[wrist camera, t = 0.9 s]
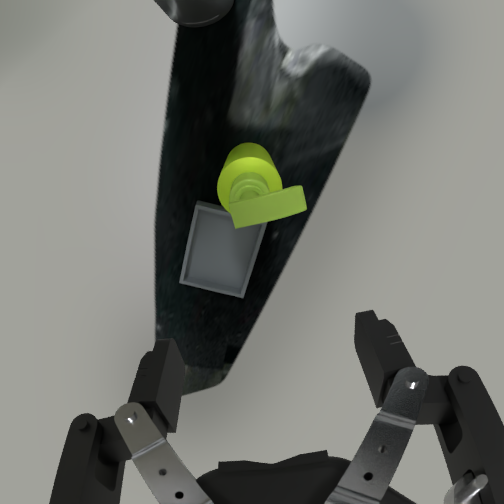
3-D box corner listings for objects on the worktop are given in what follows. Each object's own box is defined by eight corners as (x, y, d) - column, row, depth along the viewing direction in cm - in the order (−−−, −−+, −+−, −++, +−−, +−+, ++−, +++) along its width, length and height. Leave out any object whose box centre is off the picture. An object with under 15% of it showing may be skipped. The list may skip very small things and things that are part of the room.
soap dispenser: (283, 178, 42) (313, 237, 23) (232, 191, 42) (222, 259, 24) (273, 135, 39) (297, 159, 21) (220, 149, 40) (198, 184, 22)
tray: (198, 200, 43) (195, 204, 41) (266, 217, 44) (267, 222, 42) (181, 276, 47) (179, 282, 46) (243, 290, 49) (243, 298, 47)
